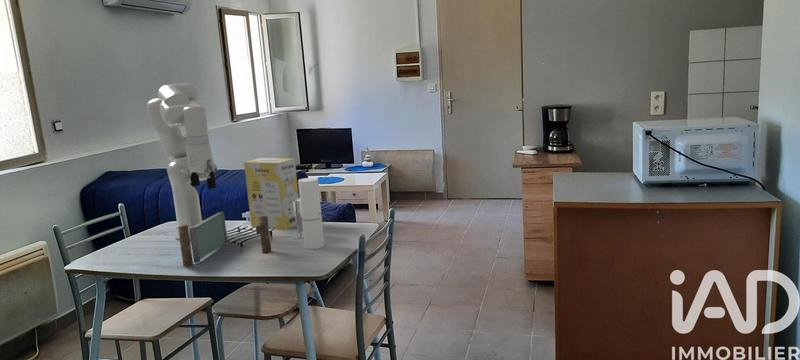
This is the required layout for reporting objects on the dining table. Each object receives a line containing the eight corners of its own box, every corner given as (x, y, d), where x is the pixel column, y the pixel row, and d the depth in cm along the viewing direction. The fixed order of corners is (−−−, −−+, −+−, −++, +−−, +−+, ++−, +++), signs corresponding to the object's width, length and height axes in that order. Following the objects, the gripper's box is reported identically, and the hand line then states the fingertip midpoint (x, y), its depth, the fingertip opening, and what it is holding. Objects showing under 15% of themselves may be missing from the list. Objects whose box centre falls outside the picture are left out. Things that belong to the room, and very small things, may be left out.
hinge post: (183, 267, 198) (177, 227, 195) (183, 264, 200) (177, 225, 198) (193, 265, 199) (187, 226, 196) (192, 262, 202) (187, 224, 199)
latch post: (259, 255, 205) (255, 220, 203) (257, 251, 209) (253, 217, 207) (272, 253, 207) (268, 218, 204) (270, 249, 211) (266, 215, 208)
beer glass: (310, 239, 221) (306, 201, 218) (293, 239, 223) (289, 201, 220) (316, 233, 228) (313, 197, 225) (299, 233, 229) (296, 197, 226)
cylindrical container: (327, 243, 214) (321, 177, 209) (318, 249, 207) (312, 181, 203) (310, 242, 216) (304, 177, 212) (301, 248, 210) (294, 181, 205)
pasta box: (301, 223, 246) (294, 158, 241) (285, 229, 237) (278, 162, 231) (267, 220, 254) (260, 157, 249) (251, 226, 245) (244, 162, 240)
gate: (198, 262, 199) (193, 228, 197) (192, 262, 200) (188, 228, 197) (227, 242, 222) (224, 211, 219) (223, 242, 222) (219, 211, 220)
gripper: (174, 141, 208) (180, 187, 212) (203, 143, 198) (209, 191, 201) (192, 138, 214) (198, 183, 217) (221, 140, 204) (227, 187, 207)
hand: (203, 187), depth 209 cm, fingers open, 9 cm apart
